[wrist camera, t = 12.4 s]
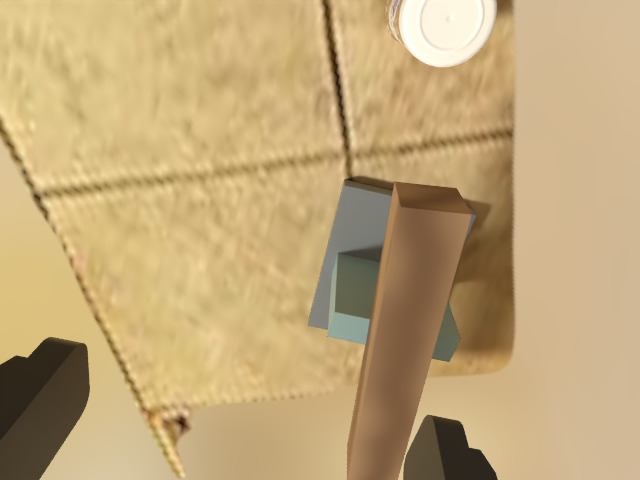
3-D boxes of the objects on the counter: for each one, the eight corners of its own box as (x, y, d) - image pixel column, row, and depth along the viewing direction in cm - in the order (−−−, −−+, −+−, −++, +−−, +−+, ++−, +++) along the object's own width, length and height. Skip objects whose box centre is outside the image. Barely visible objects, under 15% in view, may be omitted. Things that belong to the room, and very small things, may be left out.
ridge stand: (309, 316, 47) (299, 392, 38) (344, 179, 39) (342, 232, 30) (417, 339, 47) (433, 420, 38) (472, 208, 40) (509, 269, 31)
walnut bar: (347, 445, 40) (347, 486, 37) (394, 181, 28) (400, 207, 25) (390, 449, 40) (394, 492, 37) (456, 188, 28) (471, 214, 24)
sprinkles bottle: (389, -26, 32) (412, -44, 20) (452, -19, 32) (512, -34, 20) (379, 43, 34) (394, 63, 22) (438, 49, 34) (485, 73, 22)
